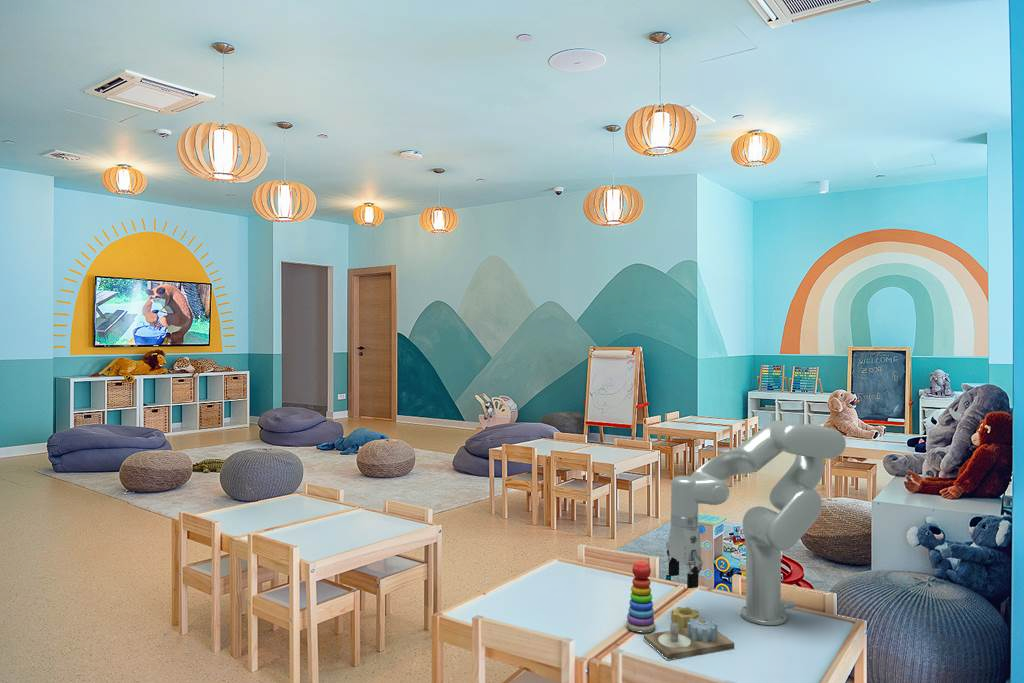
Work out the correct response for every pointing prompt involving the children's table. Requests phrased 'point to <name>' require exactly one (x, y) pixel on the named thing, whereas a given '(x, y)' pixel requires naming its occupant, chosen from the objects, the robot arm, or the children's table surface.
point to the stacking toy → (641, 600)
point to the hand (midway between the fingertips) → (683, 581)
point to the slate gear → (702, 630)
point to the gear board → (685, 643)
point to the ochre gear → (683, 616)
